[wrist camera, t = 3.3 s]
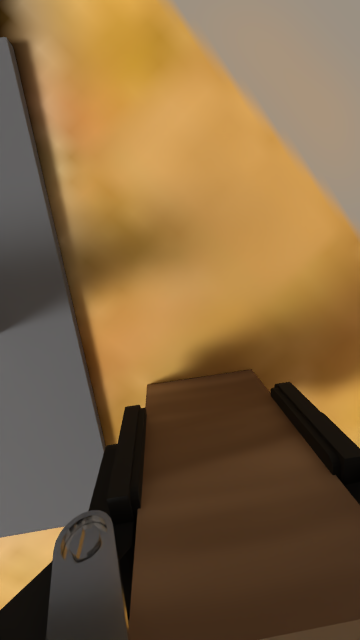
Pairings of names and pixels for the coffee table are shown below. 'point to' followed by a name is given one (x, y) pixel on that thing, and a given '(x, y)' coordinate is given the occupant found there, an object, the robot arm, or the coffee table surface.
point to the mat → (38, 344)
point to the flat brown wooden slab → (237, 520)
